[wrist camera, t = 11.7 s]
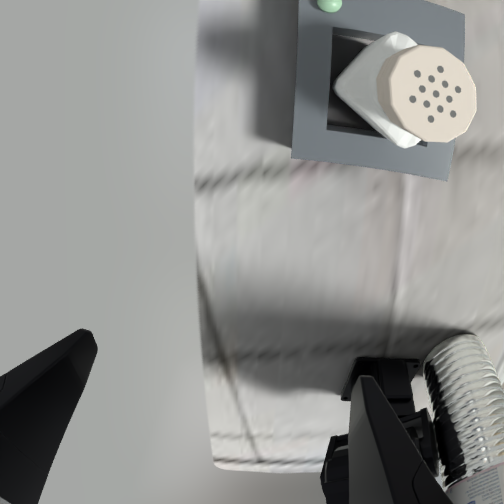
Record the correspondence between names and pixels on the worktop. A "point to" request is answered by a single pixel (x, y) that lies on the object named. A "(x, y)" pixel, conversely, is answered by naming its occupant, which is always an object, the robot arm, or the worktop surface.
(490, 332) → the worktop surface
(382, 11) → the socket dock
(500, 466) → the water bottle
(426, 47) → the pepper shaker
